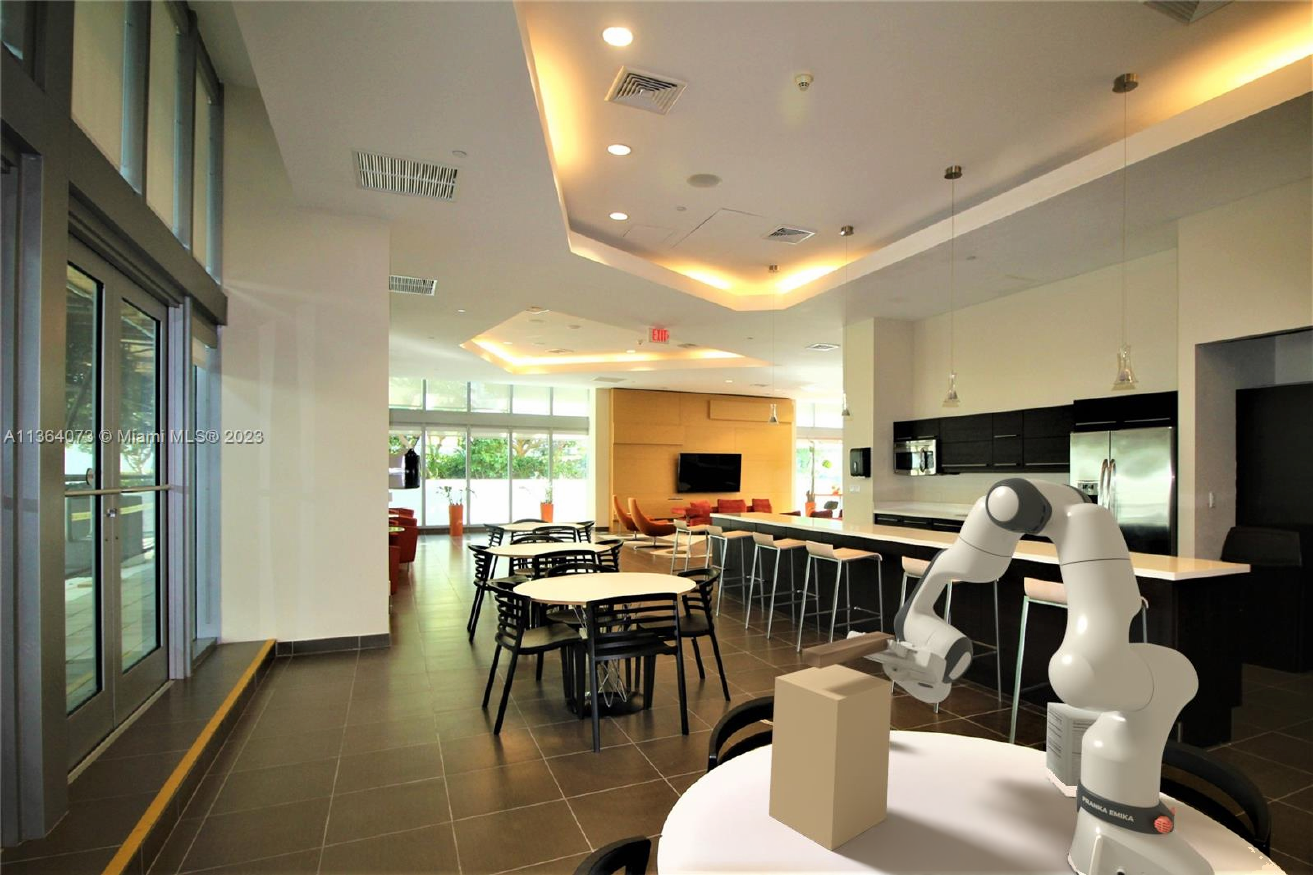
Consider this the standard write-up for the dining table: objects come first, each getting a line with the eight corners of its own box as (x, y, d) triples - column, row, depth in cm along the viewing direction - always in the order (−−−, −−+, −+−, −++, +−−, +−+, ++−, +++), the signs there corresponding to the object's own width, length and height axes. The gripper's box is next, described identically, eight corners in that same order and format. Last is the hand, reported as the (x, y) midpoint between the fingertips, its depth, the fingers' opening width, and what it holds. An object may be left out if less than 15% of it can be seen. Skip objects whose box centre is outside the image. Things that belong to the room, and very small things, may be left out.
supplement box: (1088, 780, 147) (1091, 704, 147) (1113, 802, 138) (1115, 720, 138) (1043, 776, 148) (1046, 700, 148) (1065, 797, 139) (1067, 716, 139)
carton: (886, 818, 126) (892, 682, 127) (831, 851, 114) (837, 700, 115) (825, 788, 137) (831, 662, 138) (768, 814, 125) (775, 677, 126)
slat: (894, 647, 137) (895, 635, 137) (819, 668, 120) (820, 655, 120) (877, 643, 140) (877, 631, 140) (801, 662, 123) (802, 649, 123)
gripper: (867, 638, 153) (838, 614, 145) (954, 662, 137) (927, 637, 129) (858, 664, 150) (828, 641, 143) (946, 691, 135) (918, 667, 127)
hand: (876, 639), depth 136 cm, fingers closed on slat, 4 cm apart
